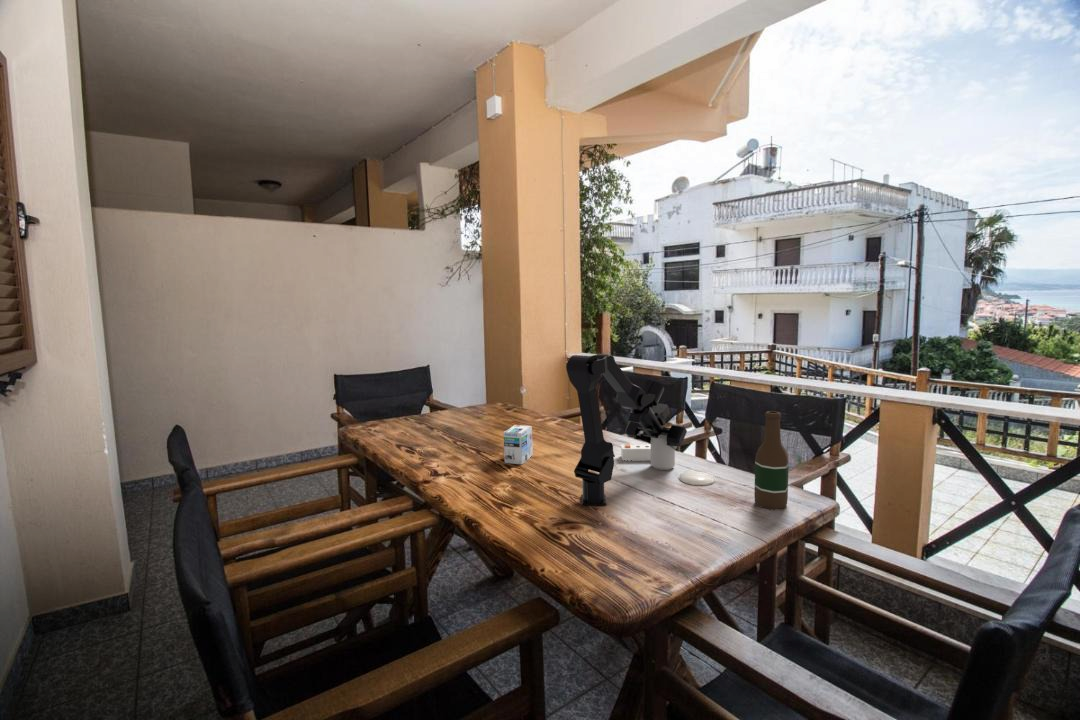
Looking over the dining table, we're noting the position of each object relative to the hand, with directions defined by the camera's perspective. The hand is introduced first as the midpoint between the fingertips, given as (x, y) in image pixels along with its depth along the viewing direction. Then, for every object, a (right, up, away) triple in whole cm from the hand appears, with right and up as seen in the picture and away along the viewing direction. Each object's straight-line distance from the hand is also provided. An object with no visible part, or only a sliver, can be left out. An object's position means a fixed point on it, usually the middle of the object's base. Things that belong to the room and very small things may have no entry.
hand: (664, 445), depth 155 cm
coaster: (+6, -8, -12) cm, 15 cm away
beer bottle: (+19, -10, -31) cm, 37 cm away
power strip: (-5, -6, +9) cm, 12 cm away
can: (-1, -7, 0) cm, 7 cm away
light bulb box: (-47, -7, +12) cm, 49 cm away
